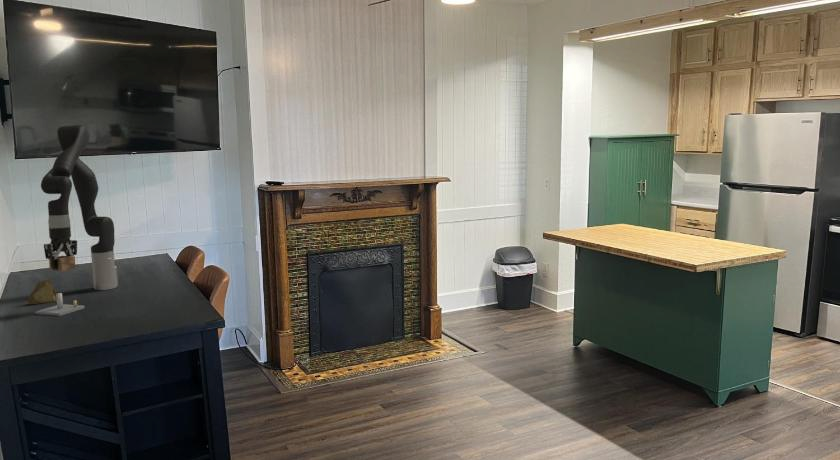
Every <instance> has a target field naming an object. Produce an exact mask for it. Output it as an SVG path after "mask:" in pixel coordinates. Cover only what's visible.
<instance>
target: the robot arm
mask: <svg viewBox="0 0 840 460" xmlns="http://www.w3.org/2000/svg"><path fill="white" fill-rule="evenodd" d="M56 135H57V139H58V143H59V145H60V148H61V151H62V152H61V153H60V154H59V155H58V156H57V157H56V158H55V160H54V162H53V166H52V168H51V169H50V170H49V171H48V172H47V173H46V174H45V175H44V176H43V177H42V179H41V183H40V187H41V190H42V192H43V193H45V194H47V195H60V196H59V198H57V199H53V200H49V201H48V203H47V210H48V235H49V239H50V243H44V244H43V248H44V255H45V259H46V260H49V259H50V260H51V267H52V269H58V261H57V260H56V259H57V257H58V256H60V254H61V253H64V254H65V256H76V255H78V240H76V239H74V240H73V239H71V237H72V231H71V219H70V214H69V211H70V210H69V201H70V195H71V193H72V192H71V191H72V189H73V188H72V187H74V190H75V192H76V196H77V200H78V204H79V207H80V212H81V216H82V223H83V227H84V230H85V233H86V234H87V235H88V236H90V237H93V238H94V237H95V238H98V242H96V243H95V244H92V245H91V246H90V255H91V266H92V279H93V289H94V290H96V291H107V290H112V289H113V290H114V289H116V288H117V287H119V282H118V270H117V269H118V268H117V265H116V264H115V252H114V248H115V247H114V246H115V240H116V239H115V223H114V220H113V219H112V218H111V217H109V216H98V215H97V212H96V208H95V203H96V199H97V197H98V193H99V184H98V180H97V177H96V174H95V173H94V171H93V170H92V169H91V168H90V167H89V166H88V165H87V164H85V162H84V161H83V160H81V158H80V156H81V154H82V153H83V151H84V150H85V149H86V147H87V145H88V144H89V140H90V134H89V131H88V129H87V127H86V126H85V125H83V124H75V125H74V124H73V125H64V126H63V125H62V126H59V127H58V129H57V133H56Z"/></svg>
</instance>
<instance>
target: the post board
mask: <svg viewBox="0 0 840 460" xmlns="http://www.w3.org/2000/svg"><path fill="white" fill-rule="evenodd" d="M56 299H57V300H56V304H55V305H53V306H49V307H46V308H42V309H39V310H36V311H35V314H36V315H45V316H57V317H61V316H64V315H67V314H71V313H73V312H76V311H80V310H84V309H85V305H78V303H77V302H78V301H77V300H72V303H73V304H68V303H67V304H65V303H63V302H64V300H63V293H62V292H59V293H57V294H56Z"/></svg>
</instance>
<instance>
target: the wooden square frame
mask: <svg viewBox="0 0 840 460" xmlns="http://www.w3.org/2000/svg"><path fill="white" fill-rule="evenodd" d="M56 260H57V261H58V269H52V267H51V260H50V259H48V265H49V267H48V268H49V271H51V272H53V271H54V272H55V271H57V272H65V271H70V270H75V269H76V255H74V256H66V255H58V257H57V259H56Z"/></svg>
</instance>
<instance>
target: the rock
mask: <svg viewBox="0 0 840 460" xmlns="http://www.w3.org/2000/svg"><path fill="white" fill-rule="evenodd" d="M56 294H58V293H57V290H56V289H55V287H54V284H53V283H52V281H51V279H43V280H42V281H39V282H38V283H37V284H36V286H35V287H34V289H33V290H32V292H31V293H30V294H29V297H28V302H27V303H28V305H38V304H39V305H40V304H45V303H46V304H47V303H53V302H57V299H56Z"/></svg>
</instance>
